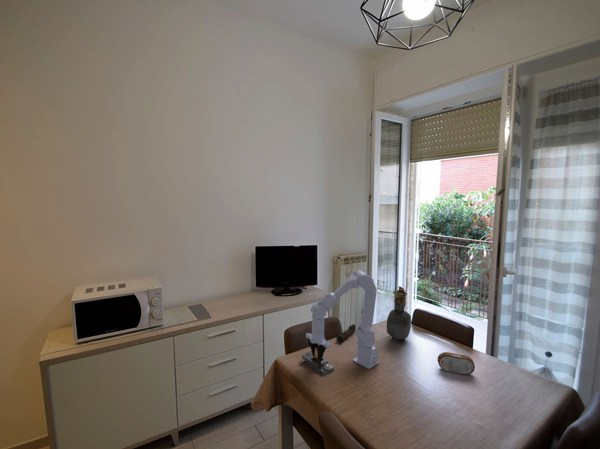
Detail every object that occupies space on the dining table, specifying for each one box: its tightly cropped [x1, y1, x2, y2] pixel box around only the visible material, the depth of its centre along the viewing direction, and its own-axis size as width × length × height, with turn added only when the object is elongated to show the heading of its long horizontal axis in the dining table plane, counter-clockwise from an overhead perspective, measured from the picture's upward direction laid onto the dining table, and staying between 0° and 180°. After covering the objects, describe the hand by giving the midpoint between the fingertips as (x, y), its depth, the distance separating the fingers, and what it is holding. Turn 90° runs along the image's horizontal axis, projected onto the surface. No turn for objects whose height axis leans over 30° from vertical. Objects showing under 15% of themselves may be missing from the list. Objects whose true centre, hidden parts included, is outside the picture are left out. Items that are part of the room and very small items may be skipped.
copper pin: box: [314, 346, 321, 363], centre depth 140 cm, size 3×3×8 cm
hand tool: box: [336, 323, 356, 344], centre depth 170 cm, size 19×4×5 cm, turn 140°
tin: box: [437, 351, 476, 376], centre depth 136 cm, size 15×3×8 cm, turn 71°
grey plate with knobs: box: [301, 350, 335, 376], centre depth 140 cm, size 15×7×3 cm, turn 41°
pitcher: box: [386, 286, 412, 344], centre depth 167 cm, size 11×19×30 cm, turn 147°
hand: (317, 357), depth 140 cm, fingers closed on copper pin, 3 cm apart
